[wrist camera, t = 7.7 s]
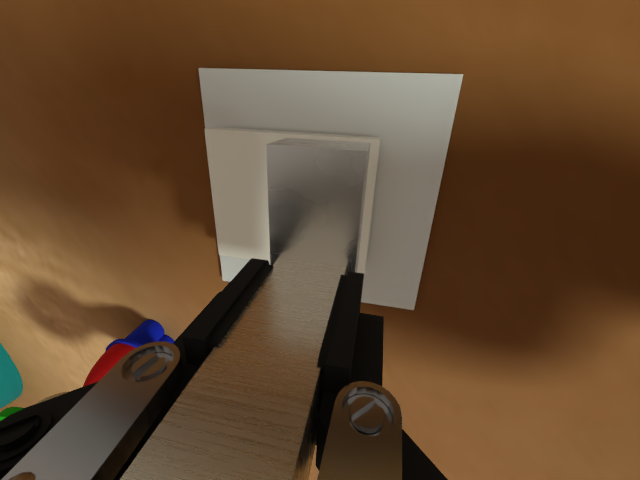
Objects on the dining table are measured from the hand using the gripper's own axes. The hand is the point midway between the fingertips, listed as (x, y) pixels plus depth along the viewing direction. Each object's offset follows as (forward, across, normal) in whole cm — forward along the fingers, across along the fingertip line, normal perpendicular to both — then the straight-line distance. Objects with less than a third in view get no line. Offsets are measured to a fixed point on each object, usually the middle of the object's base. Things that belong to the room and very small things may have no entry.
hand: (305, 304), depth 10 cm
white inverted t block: (+3, 0, 0) cm, 3 cm away
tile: (+11, -2, 0) cm, 11 cm away
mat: (+12, +2, 0) cm, 12 cm away
